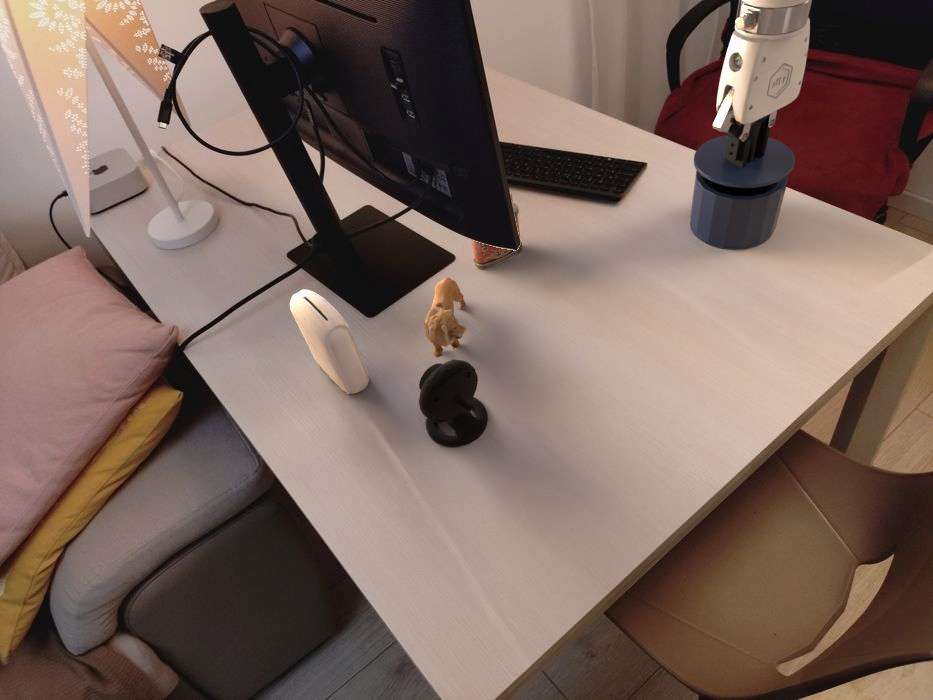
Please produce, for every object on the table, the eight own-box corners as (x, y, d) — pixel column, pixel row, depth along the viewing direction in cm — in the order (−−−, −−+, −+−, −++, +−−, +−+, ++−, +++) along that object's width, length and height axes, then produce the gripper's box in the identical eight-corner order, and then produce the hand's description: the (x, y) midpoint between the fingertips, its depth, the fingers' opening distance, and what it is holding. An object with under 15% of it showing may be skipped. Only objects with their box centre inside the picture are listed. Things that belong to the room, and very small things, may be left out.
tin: (792, 225, 90) (807, 174, 84) (733, 260, 87) (743, 210, 81) (729, 192, 98) (738, 143, 91) (672, 223, 95) (678, 174, 88)
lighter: (481, 273, 93) (471, 217, 86) (470, 261, 96) (460, 206, 88) (527, 251, 95) (521, 195, 88) (515, 240, 97) (508, 184, 90)
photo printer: (311, 359, 86) (278, 293, 77) (337, 342, 88) (308, 275, 79) (348, 401, 80) (317, 334, 71) (376, 382, 82) (349, 315, 73)
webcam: (461, 388, 79) (447, 333, 72) (502, 420, 75) (492, 365, 67) (413, 425, 76) (394, 372, 69) (453, 461, 72) (437, 409, 64)
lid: (814, 165, 83) (828, 118, 78) (745, 203, 80) (754, 157, 75) (739, 131, 91) (747, 86, 86) (673, 165, 88) (677, 121, 83)
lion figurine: (474, 370, 81) (463, 321, 74) (433, 377, 81) (419, 328, 74) (465, 294, 91) (455, 245, 84) (429, 300, 91) (416, 251, 84)
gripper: (746, 46, 67) (720, 194, 80) (851, -3, 71) (810, 145, 84) (693, 28, 71) (677, 170, 85) (795, -17, 76) (764, 125, 89)
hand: (744, 156), depth 84 cm, fingers closed on lid, 2 cm apart
